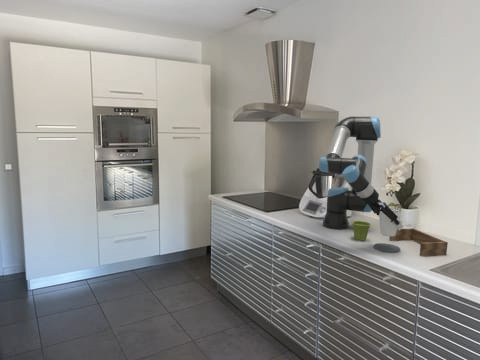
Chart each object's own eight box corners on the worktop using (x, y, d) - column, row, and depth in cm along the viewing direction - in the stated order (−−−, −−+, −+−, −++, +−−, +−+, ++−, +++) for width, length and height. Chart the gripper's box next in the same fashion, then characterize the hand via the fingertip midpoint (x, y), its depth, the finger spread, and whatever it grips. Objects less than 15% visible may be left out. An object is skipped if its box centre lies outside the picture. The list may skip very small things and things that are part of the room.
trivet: (373, 243, 179) (373, 242, 179) (398, 246, 175) (398, 245, 175) (374, 250, 168) (374, 249, 168) (401, 253, 164) (401, 252, 164)
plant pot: (370, 238, 188) (371, 222, 187) (368, 243, 179) (369, 226, 178) (352, 235, 192) (353, 220, 191) (349, 240, 183) (350, 223, 182)
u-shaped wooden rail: (420, 256, 162) (422, 243, 161) (389, 240, 185) (390, 229, 184) (446, 254, 164) (447, 242, 164) (411, 239, 188) (412, 228, 187)
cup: (399, 238, 164) (401, 213, 163) (378, 235, 167) (380, 211, 166) (396, 233, 173) (398, 209, 172) (377, 231, 176) (379, 207, 174)
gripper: (350, 194, 175) (376, 225, 181) (375, 203, 154) (403, 237, 159) (360, 184, 176) (386, 215, 181) (386, 191, 155) (415, 226, 160)
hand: (394, 225), depth 170 cm, fingers closed on cup, 9 cm apart
